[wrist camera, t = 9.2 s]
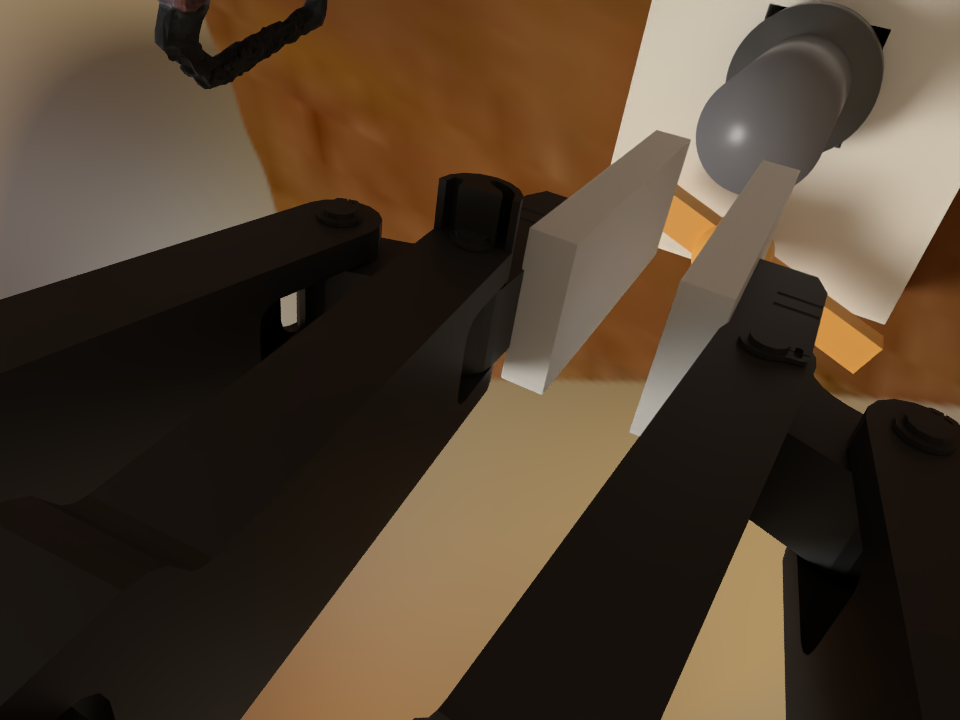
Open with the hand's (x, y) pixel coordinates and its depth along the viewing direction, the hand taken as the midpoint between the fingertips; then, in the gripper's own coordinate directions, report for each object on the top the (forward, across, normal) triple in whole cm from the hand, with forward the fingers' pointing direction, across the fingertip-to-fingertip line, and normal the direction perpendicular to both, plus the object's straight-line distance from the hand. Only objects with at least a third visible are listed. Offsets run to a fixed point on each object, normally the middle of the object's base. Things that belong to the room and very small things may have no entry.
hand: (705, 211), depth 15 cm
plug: (+22, 0, 0) cm, 22 cm away
